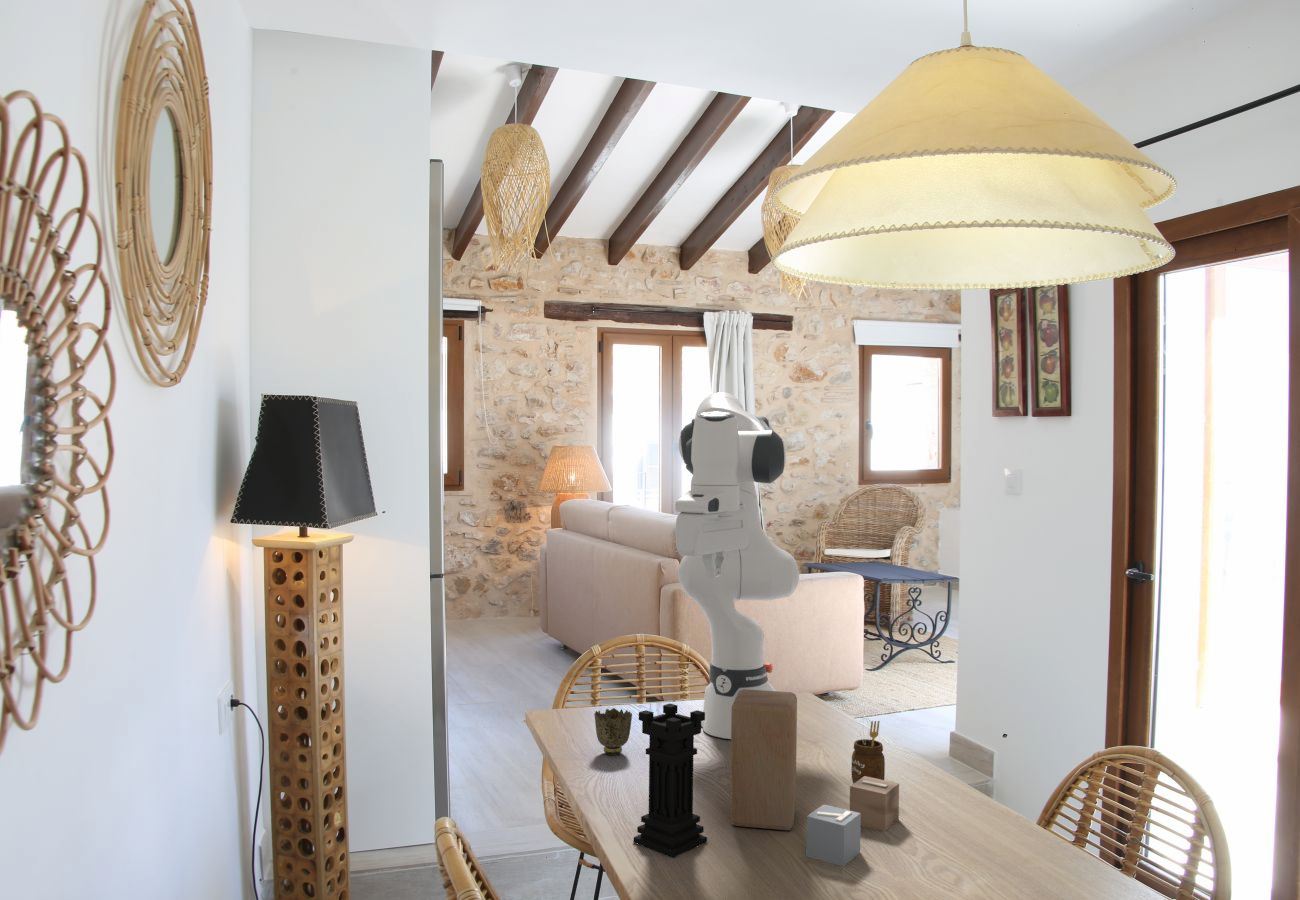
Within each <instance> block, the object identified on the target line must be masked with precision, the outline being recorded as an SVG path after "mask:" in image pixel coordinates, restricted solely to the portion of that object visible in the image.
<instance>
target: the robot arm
mask: <svg viewBox="0 0 1300 900" xmlns="http://www.w3.org/2000/svg"><path fill="white" fill-rule="evenodd" d="M785 447H786V446H785V444H784V440H783V438H782V437H781V436H780V435H779V434H778V433H777V432H776V431H775V430H774V428H773V426H772V424H771V423H770V422H769V419H768V418H767V417H766V416H764V415H755V414H752V413H750V412H748V411H746V410H745V409H744V407H743V405H742V403H741V401H740V400H739V399H738V398H737V397H735V396H734V395H733V394H731V393H729V392H727V391H726V392H724V391H719V392H715V393H711V394H709V395H708V396H706V397H705V398H704V399H703V400H702V401H701V403H700V404H699V406H698V408H697V410H696V413H695V417H694V418H693V419H691V422H690V423H688V424H686V425H685V426H684V427H683V429H682V430H681V431H680V435H679V439H678V451H679V454H680V456H681V458H682V460H683V463H684V464H685V469H686V470H687V471H688V472H689V473H690V474H692V477H691V481H690V490H688V492H686V493H685V494H684V495H683V496H681V497H679V498H678V499H677V500H676V501H675V504H674V507H675V512H677V513H678V515H677V517H676V520H675V546H676V550H677V553H678V554H679V556H683V557H682V558H681V561H680V562H679V565H678V570H677V579H678V583H679V585H680V587H681V590H682V592H684V594H685V595H686V596H687V597H689V598H690V599H692V600H693V601H694V602H695V603H696V604H697V605H698V606H699V607H700V609H701V611H702V612H703V614H704V615H705V617H706V619H707V623H708V626H709V630H710V641H711V642H710V643H711V662H710V664H709V669H708V674H709V677H708V678H709V679H708V680H709V681H710V683H709V684H708V685H707V686H706V687H705V691H704V697H703V698H704V701H703V708H702V709H703V711H702V712H705V720H704V721H701V728H702V730H703V732H705V733H706V734H708V735H710V736H712V737H717V738H721V739H728V740H731V712H732V705H733V703H734V701H735V698H736V696H737V694H738V692H739V691H740V690H742V689H747V690H763V691H777V689H775V687H773V686H772V685H771V684H770V683H769V682H768V681H769V678H768V674H772V672H773V668H774V666H773V664H772V663H766V662H764V637H765V636H764V635H765V634H764V630H763V628H762V627H761V625H760V623H758V622H757V621H756V620H755V619H753V618H751V617H749V616H747V615H745V614H743V613H741V612H739V611H738V610H737V609H736V607H735V603H736V602H737V601H774V600H779V599H784V598H788V597H791V596H792V595H793V593H794V592H795V590H796V589H797V587H798V584H799V581H800V569H799V566H798V562H797V560H796V559H795V558H794V557H793V555H792V554H791V553H790V552H788V551H786V550H784V549H782V548H781V547H779V546H778V545H776V544H775V543H774V542H773V541H772V540H771V539H770V538H769V537H768V536H767V535H766V533H765V531H764V529H763V527H762V523H761V518H760V511H759V504H758V503H759V502H758V495H757V491H756V486H755V482H756V483H761V484H772V483H773V482H775V481H776V480H778V478H780V477H781V476H782V474H783V473H784V470H785V467H786V461H787V454H786V453H787V452H786V448H785Z"/></svg>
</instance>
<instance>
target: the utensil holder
mask: <svg viewBox="0 0 1300 900" xmlns="http://www.w3.org/2000/svg"><path fill="white" fill-rule="evenodd" d="M865 719H866V723H867V725H869V722H870V726H869V727H870V728H867V732H868V733H867V737H870V739H869V738H867V739H866V738H865V731H864V729H865V727H864V726H862V730H863V731H862V733H861V732H859V735H860V737H861V739H857V740H855V741H854V743H853V749H854V750H853V752H852V755H851V769H850V770H851V771H850V772H851V779H852V781H853V782H854V783H855V782H857V781H858V780H859V779H861V778H862V777H864V776H867V777H871V778H876V779H881V780H885V778H886V777H885V774H886V773H885V772H886V771H885V770H886V769H885V768H886V762H885V754H884V753H883V752H884V746H883V743H882V742H880V741H878V740H875V738H877V737H879V730H880V720H878V721H877V720H875V721H873V720H870V719H869V718H866V717H863V718H862V720H863V721H862V720H860V721H859V723H861V721H862V722H864V721H865ZM862 734H863V737H862Z"/></svg>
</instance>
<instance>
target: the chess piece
mask: <svg viewBox="0 0 1300 900" xmlns="http://www.w3.org/2000/svg"><path fill="white" fill-rule="evenodd" d="M689 713H690V715H689V716H687V715H684V714H680V713H679V714H678V704H673V703H667V704H663V706H662V714H659V715H655V716H654V711H651V710H647V709H646V710H645V709H644V710H642V711H639V712H638V721H641V723H642V725H641V726H642V727H641V728H642V729H641V733H642V734H644V735H648V736H649V738H648V739H649V746H648V747H647V748H645V755H648V758H649V759H648V760H649V761H648V813H647V814H644V815H641V816H640V822H641V823H644V824H641V825H639V826H637V827H636V829H637V830H636V831H637V833H638V835H636V836H633V843H634V842H635V843H634V844H636V843H638V844H639V846H641V845H642V846H641V847H643V846H644V847H643V848H646V849H648V848H649V849H650V850H652V851H654V852H656V853H659V854H660V855H661V854H662V855H664V856H667V857H668V858H672V859H674V858H676V857H679V856H680V855H682V854H685V853H687V852H688V851H691V850H693V849H695V848H697V846H698V847H700V846H702V845H704V844H706V842H707V843H708V837H707V836H705V835H702V833H704V825H703V826H702V825H700V824H697V823H700V822H701V816H700V815H698V814H694V813H693V812H694V756H695V755H698V748H696V747H694V744H695V743H694V736H696V735H699V734H702V726H701V721H704V720H705V712H703V711H702V710H696V709H695V710H694V711H691V712H689ZM638 844H637V845H638Z"/></svg>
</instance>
